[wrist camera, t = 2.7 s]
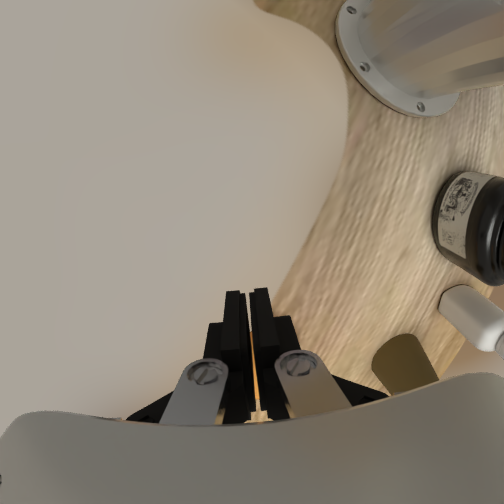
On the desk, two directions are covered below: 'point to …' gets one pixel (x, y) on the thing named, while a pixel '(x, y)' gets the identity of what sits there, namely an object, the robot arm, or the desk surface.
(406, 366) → the olive pawn
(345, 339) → the desk surface
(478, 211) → the ink bottle
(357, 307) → the desk surface
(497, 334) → the eye dropper bottle
